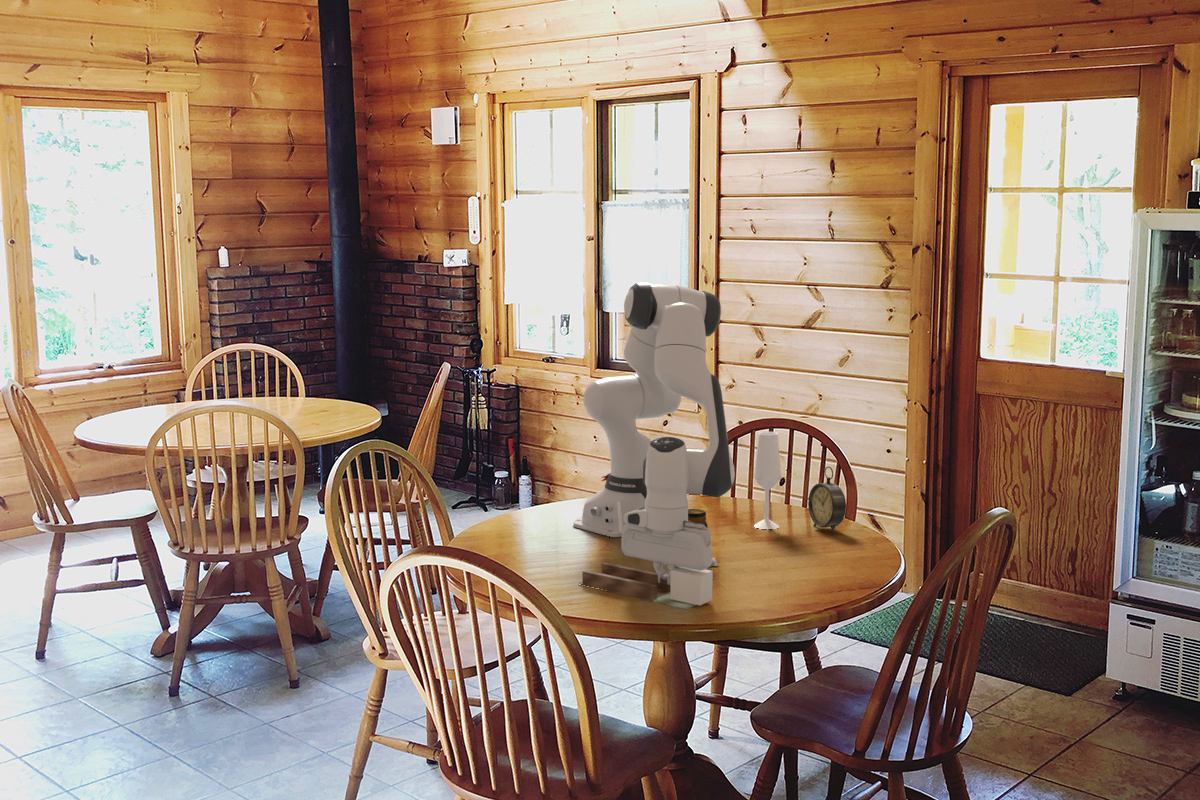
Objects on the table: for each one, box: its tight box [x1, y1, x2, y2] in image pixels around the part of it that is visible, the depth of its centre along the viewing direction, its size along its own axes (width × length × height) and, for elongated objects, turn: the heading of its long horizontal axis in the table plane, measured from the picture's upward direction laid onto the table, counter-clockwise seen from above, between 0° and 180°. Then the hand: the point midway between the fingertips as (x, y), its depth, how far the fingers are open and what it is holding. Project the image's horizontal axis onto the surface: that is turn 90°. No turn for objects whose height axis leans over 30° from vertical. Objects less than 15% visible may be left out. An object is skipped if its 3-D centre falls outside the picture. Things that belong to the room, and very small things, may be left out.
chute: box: [578, 561, 696, 610], centre depth 246 cm, size 27×8×3 cm, turn 54°
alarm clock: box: [807, 466, 847, 535], centre depth 293 cm, size 11×5×16 cm, turn 23°
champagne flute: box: [753, 431, 782, 531], centre depth 296 cm, size 7×7×24 cm
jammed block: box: [670, 566, 713, 606], centre depth 239 cm, size 7×5×6 cm
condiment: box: [688, 508, 719, 567], centre depth 266 cm, size 7×8×12 cm
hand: (665, 583), depth 242 cm, fingers closed
